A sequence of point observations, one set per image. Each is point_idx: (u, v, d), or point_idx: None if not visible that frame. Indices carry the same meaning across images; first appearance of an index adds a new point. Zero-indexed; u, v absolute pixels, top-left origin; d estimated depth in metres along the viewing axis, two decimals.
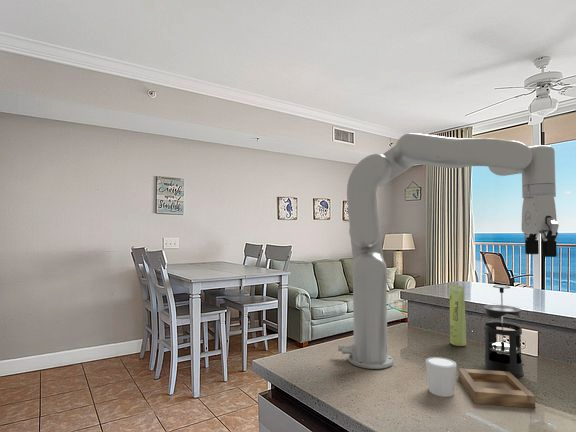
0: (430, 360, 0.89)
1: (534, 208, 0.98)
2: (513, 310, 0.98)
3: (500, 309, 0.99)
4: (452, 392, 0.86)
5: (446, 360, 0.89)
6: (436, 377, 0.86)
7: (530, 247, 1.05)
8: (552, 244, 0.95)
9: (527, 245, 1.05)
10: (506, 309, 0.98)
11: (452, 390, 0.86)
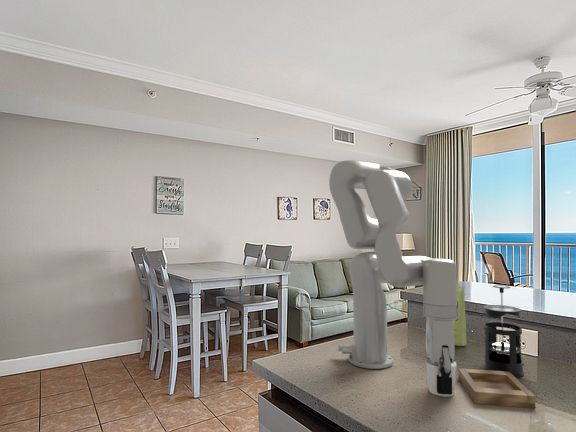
0: (430, 360, 0.89)
1: (431, 333, 0.86)
2: (513, 310, 0.98)
3: (500, 309, 0.99)
4: (452, 392, 0.86)
5: None
6: (436, 377, 0.86)
7: None
8: (447, 381, 0.84)
9: None
10: (506, 309, 0.98)
11: (452, 390, 0.86)
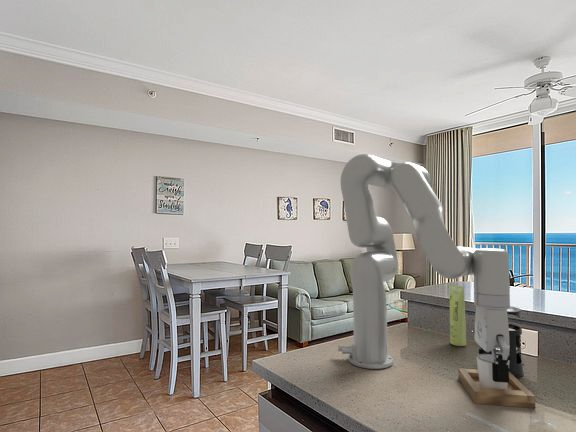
0: (481, 357, 0.89)
1: (485, 323, 0.85)
2: (513, 310, 0.98)
3: None
4: (505, 389, 0.85)
5: (497, 357, 0.89)
6: (489, 373, 0.85)
7: None
8: (503, 368, 0.82)
9: None
10: None
11: (506, 387, 0.85)
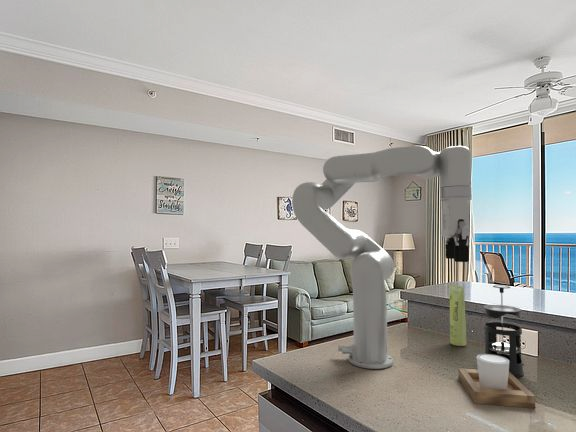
0: (481, 357, 0.89)
1: (448, 211, 0.94)
2: (513, 310, 0.98)
3: (500, 309, 0.99)
4: (505, 389, 0.85)
5: (497, 357, 0.89)
6: (489, 373, 0.85)
7: (450, 251, 1.01)
8: (464, 249, 0.91)
9: (447, 249, 1.02)
10: (506, 309, 0.98)
11: (506, 387, 0.85)
